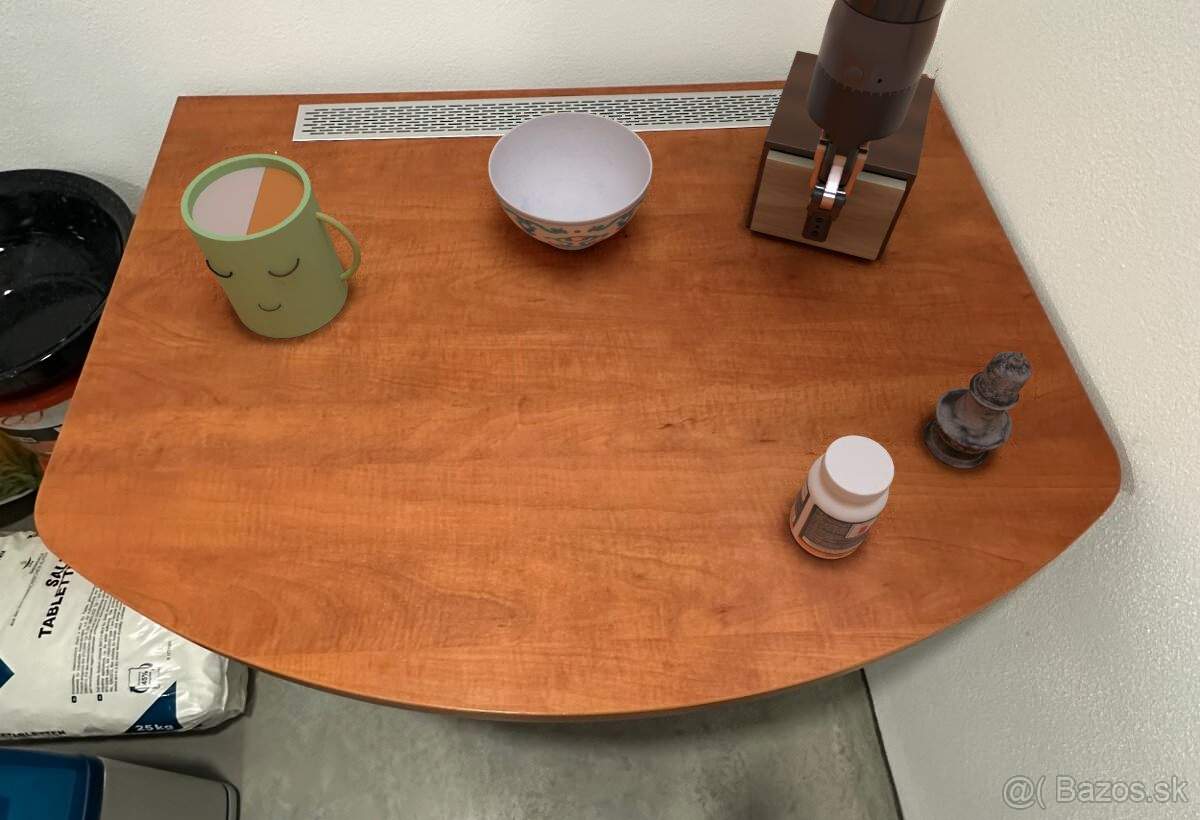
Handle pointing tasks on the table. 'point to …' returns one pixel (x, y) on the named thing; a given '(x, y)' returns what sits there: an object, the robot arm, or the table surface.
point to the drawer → (857, 220)
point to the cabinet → (802, 134)
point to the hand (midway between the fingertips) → (814, 234)
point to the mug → (269, 243)
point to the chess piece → (978, 412)
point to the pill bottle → (842, 497)
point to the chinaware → (570, 177)
